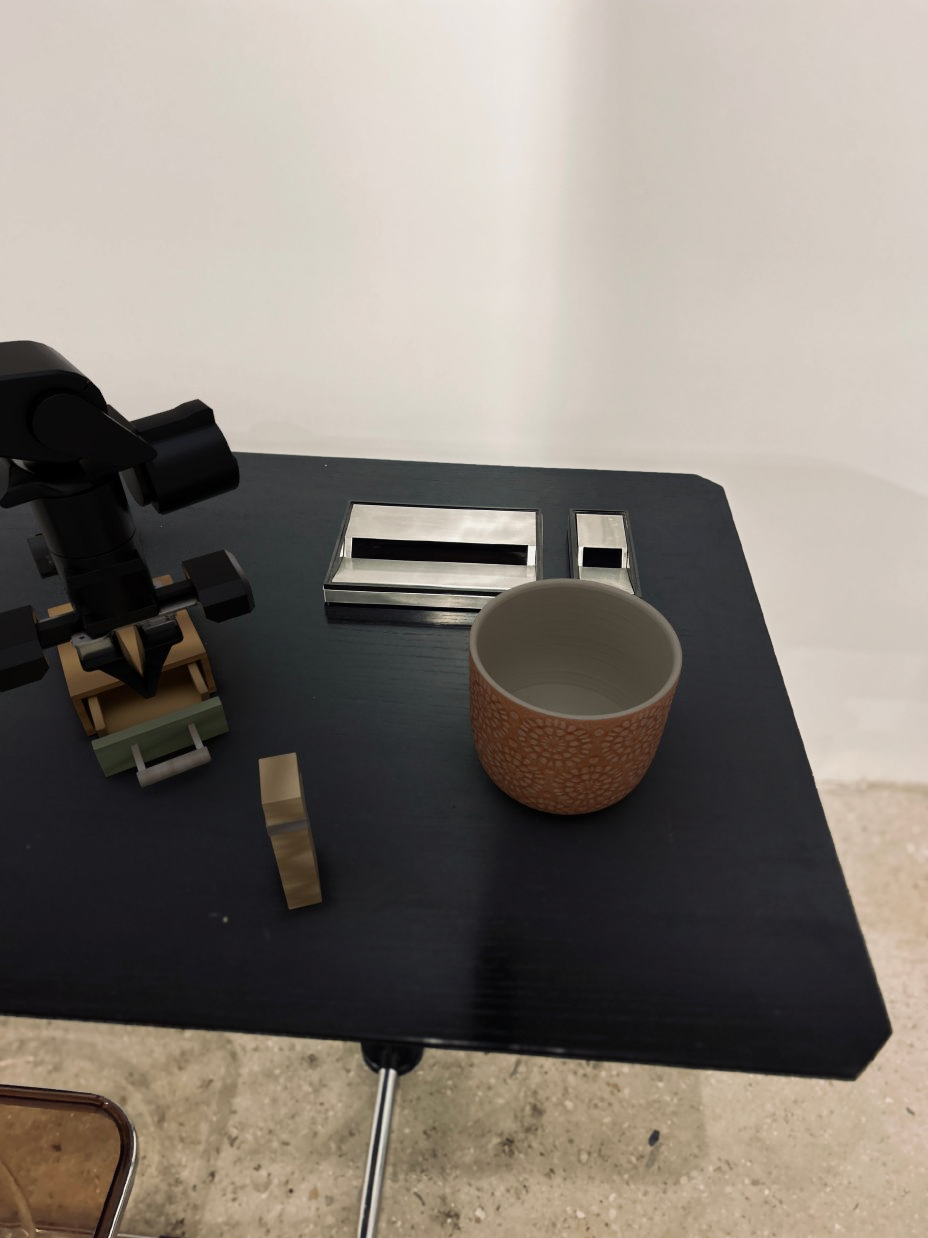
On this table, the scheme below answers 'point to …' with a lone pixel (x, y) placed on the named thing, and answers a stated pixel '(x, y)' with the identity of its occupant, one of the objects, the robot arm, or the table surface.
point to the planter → (570, 692)
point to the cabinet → (99, 681)
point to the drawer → (156, 725)
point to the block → (290, 829)
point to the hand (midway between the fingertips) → (149, 694)
